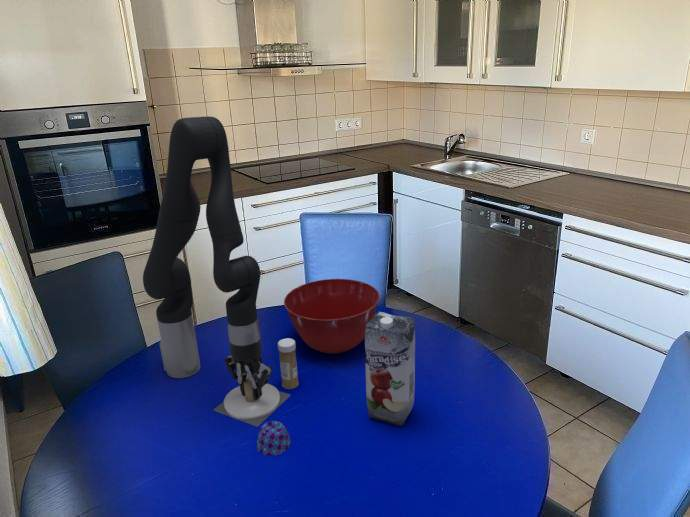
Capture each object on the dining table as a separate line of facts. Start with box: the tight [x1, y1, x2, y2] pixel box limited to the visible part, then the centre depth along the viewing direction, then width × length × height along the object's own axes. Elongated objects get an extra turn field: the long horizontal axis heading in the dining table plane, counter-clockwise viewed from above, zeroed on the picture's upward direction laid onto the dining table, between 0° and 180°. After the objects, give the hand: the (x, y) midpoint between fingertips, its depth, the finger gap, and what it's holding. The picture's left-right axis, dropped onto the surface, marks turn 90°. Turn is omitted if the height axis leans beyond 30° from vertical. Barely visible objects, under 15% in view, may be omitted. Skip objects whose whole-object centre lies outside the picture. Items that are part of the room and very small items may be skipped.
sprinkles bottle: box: [277, 337, 299, 390], centre depth 140 cm, size 5×5×14 cm
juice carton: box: [364, 311, 416, 427], centre depth 125 cm, size 9×10×27 cm
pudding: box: [256, 420, 292, 457], centre depth 120 cm, size 12×12×5 cm
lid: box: [223, 377, 280, 421], centre depth 135 cm, size 14×14×6 cm
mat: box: [212, 390, 292, 428], centre depth 136 cm, size 14×14×1 cm
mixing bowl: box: [283, 278, 381, 354], centre depth 161 cm, size 28×28×15 cm
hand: (251, 395), depth 135 cm, fingers closed on lid, 3 cm apart
